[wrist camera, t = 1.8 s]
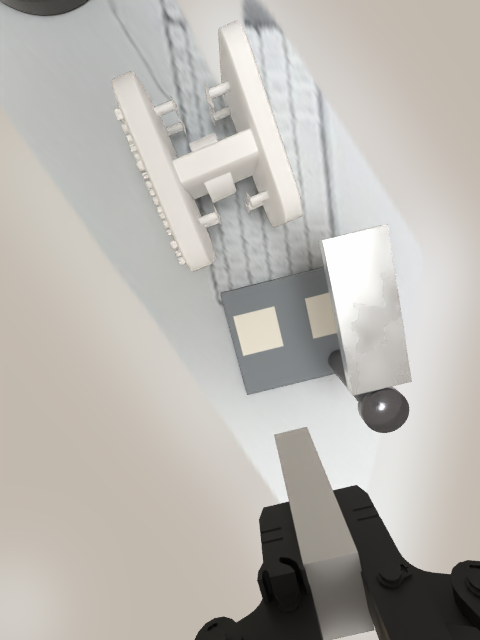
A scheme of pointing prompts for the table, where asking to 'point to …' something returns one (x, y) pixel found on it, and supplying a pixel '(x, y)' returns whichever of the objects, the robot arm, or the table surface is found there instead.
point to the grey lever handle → (369, 323)
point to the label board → (284, 331)
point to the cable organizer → (210, 152)
